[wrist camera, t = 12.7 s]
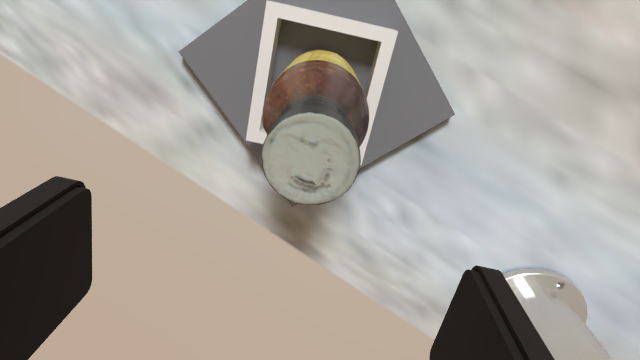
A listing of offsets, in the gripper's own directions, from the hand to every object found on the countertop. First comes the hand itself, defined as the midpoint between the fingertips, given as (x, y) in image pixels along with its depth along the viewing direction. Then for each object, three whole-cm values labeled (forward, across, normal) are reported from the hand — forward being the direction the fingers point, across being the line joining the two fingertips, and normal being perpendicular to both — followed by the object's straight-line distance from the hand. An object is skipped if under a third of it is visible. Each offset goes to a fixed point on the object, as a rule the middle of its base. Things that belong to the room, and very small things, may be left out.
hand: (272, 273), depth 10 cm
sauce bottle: (+27, 0, 0) cm, 27 cm away
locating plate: (+28, 0, 0) cm, 28 cm away
